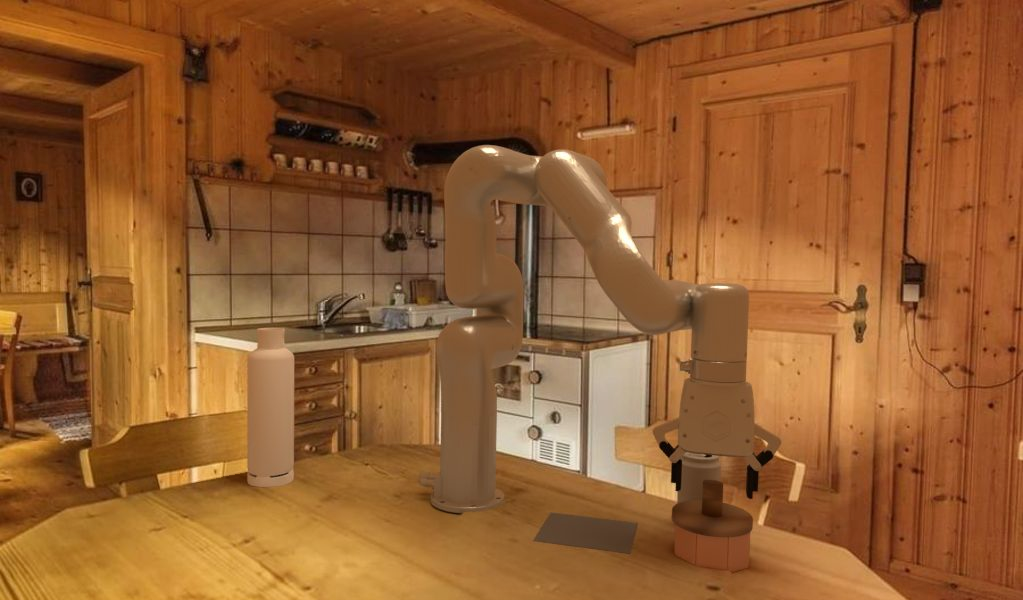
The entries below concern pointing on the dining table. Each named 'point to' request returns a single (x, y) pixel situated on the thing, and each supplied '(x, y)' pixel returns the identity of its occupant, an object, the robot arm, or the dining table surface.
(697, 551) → the bowl
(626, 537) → the mat
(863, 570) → the dining table surface
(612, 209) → the robot arm
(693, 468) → the beverage can
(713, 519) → the lid
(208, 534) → the dining table surface
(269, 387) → the bottle
